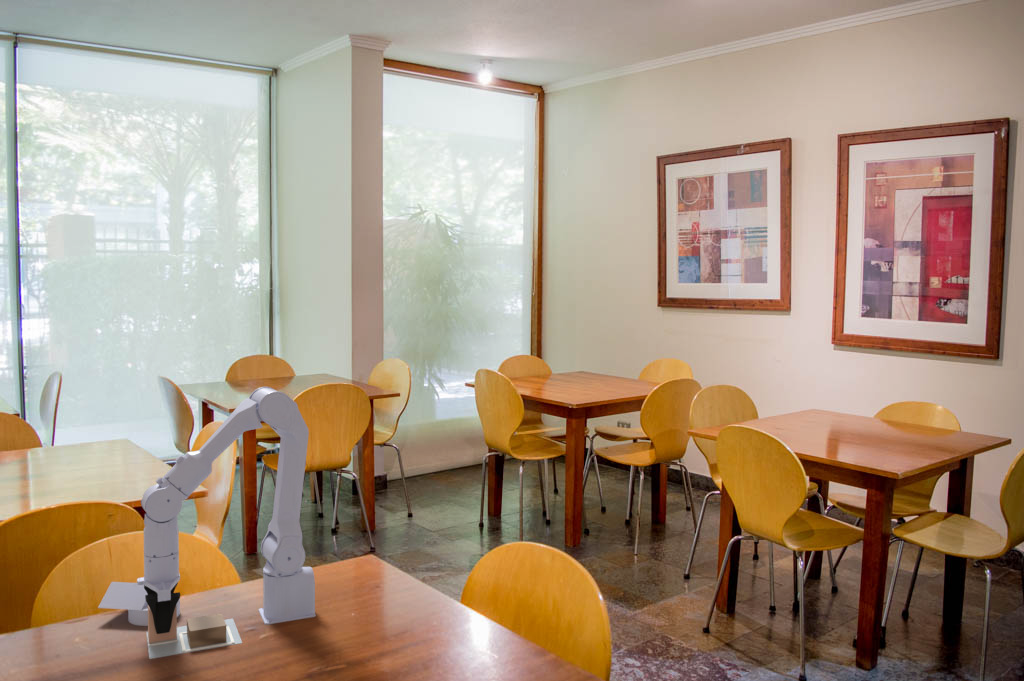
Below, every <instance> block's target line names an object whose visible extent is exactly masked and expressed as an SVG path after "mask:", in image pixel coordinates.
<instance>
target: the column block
mask: <svg viewBox="0 0 1024 681" xmlns="http://www.w3.org/2000/svg"><path fill="white" fill-rule="evenodd" d="M177 618H178V617H177V605H176V607H175V610H174V613H173V618H172V624H171V628H170V632H168V633H161V634H157V633H156V630H155V625H154V619H153V615H152V612H151V609H150V607H149V606H148V626H147V632H148V637H149V643H152V642H158V641H165V640H171V639H177V627H178V622H177V621H178V620H177Z"/></svg>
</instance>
